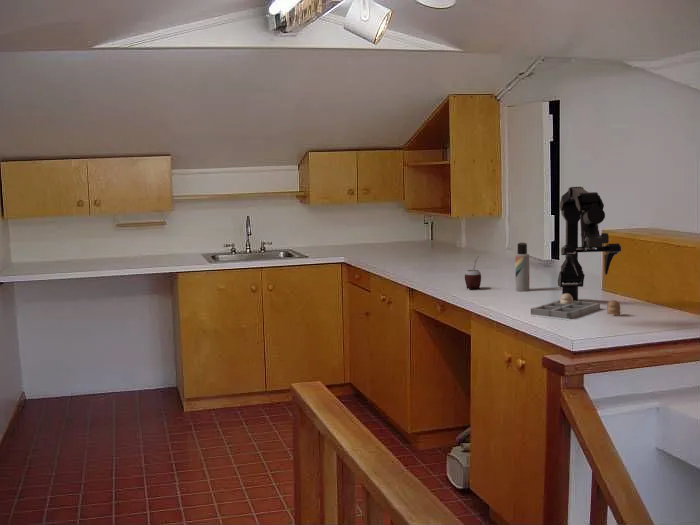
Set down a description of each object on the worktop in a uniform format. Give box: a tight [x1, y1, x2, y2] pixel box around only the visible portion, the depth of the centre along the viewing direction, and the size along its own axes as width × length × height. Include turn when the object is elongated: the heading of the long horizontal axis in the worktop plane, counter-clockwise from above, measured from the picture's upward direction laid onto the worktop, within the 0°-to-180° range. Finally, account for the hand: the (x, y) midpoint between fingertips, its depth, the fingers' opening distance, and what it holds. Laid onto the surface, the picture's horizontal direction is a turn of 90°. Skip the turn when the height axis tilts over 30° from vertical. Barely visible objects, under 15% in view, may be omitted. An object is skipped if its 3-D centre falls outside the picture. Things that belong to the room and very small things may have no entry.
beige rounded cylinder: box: [559, 293, 573, 304], centre depth 292 cm, size 4×4×5 cm
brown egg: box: [606, 299, 621, 317], centre depth 278 cm, size 4×4×5 cm
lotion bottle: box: [514, 242, 530, 292], centre depth 335 cm, size 6×6×20 cm
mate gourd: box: [464, 255, 482, 291], centre depth 343 cm, size 8×8×15 cm
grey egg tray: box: [530, 299, 601, 321], centre depth 284 cm, size 22×15×3 cm
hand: (592, 274), depth 269 cm, fingers open, 9 cm apart
